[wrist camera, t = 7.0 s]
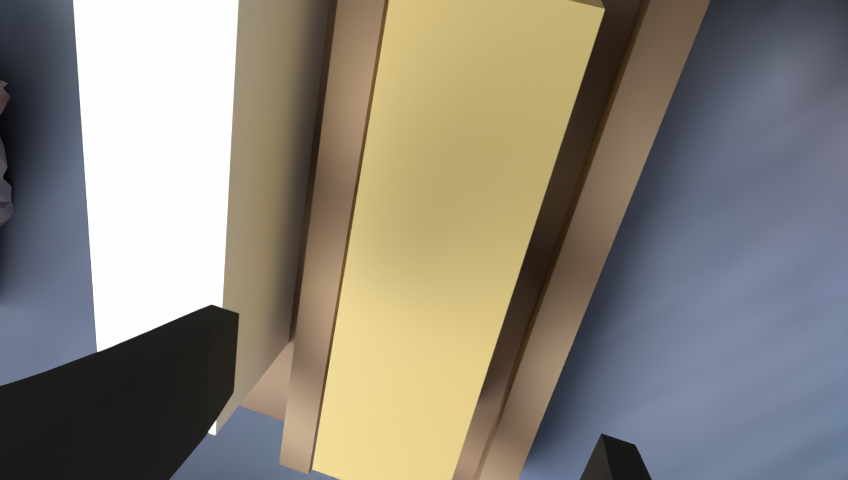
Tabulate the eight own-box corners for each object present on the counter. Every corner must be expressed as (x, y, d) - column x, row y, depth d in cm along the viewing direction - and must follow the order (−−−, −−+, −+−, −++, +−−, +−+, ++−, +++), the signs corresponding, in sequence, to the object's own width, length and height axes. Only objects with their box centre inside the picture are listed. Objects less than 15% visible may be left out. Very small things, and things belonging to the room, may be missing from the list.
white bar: (288, 343, 22) (215, 435, 18) (193, 311, 23) (100, 393, 18) (337, -63, 16) (242, -75, 12) (204, -95, 16) (65, -117, 12)
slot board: (504, 469, 24) (492, 542, 21) (167, 352, 26) (111, 402, 23) (742, -156, 14) (787, -191, 11) (167, -270, 16) (69, -326, 13)
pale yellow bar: (469, 403, 21) (439, 515, 17) (366, 368, 22) (311, 469, 17) (599, -4, 15) (605, 9, 11) (449, -39, 15) (395, -42, 11)
